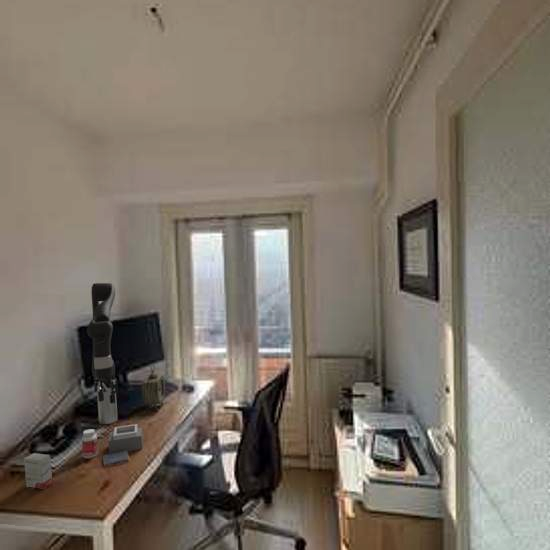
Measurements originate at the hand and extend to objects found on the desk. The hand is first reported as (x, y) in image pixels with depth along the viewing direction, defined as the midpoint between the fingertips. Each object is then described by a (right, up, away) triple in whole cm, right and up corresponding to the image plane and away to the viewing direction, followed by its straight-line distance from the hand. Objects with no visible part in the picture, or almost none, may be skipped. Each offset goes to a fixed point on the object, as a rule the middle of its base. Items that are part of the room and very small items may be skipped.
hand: (107, 402), depth 195 cm
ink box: (-16, -25, -26) cm, 39 cm away
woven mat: (+7, -23, -8) cm, 25 cm away
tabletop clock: (+7, -19, +53) cm, 57 cm away
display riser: (+7, -22, +5) cm, 24 cm away
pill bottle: (-6, -23, -2) cm, 24 cm away
